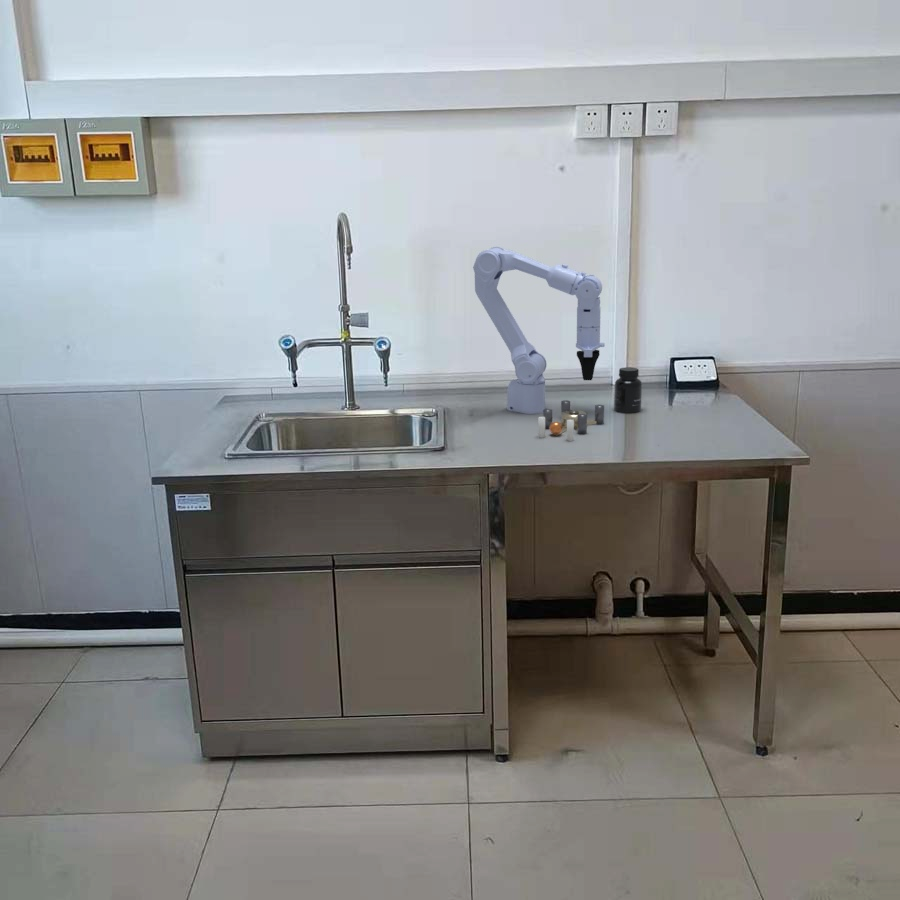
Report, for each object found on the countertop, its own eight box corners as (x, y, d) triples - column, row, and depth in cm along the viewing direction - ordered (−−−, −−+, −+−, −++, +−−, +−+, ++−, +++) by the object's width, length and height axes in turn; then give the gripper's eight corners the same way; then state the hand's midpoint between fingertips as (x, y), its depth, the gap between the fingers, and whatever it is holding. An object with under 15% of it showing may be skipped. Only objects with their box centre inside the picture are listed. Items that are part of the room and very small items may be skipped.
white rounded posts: (537, 438, 206) (537, 417, 205) (548, 431, 211) (549, 411, 209) (570, 443, 202) (570, 422, 200) (581, 436, 206) (582, 416, 205)
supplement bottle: (641, 418, 223) (642, 372, 219) (613, 418, 224) (614, 371, 220) (640, 411, 229) (642, 366, 225) (614, 410, 230) (615, 365, 227)
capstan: (551, 437, 206) (551, 419, 204) (534, 419, 220) (533, 402, 219) (614, 431, 208) (615, 413, 207) (593, 414, 223) (593, 398, 221)
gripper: (605, 331, 211) (604, 386, 215) (604, 320, 224) (603, 373, 228) (575, 331, 212) (575, 386, 216) (576, 321, 225) (575, 373, 230)
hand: (587, 379), depth 222 cm, fingers closed
